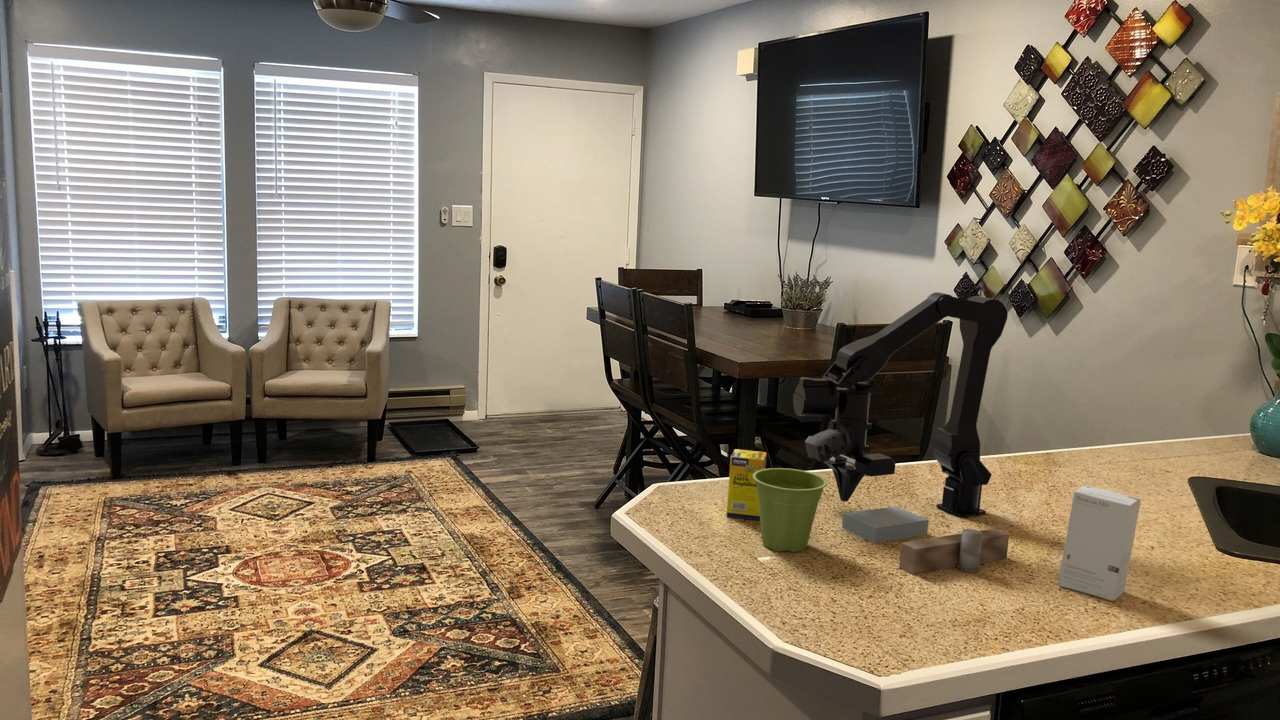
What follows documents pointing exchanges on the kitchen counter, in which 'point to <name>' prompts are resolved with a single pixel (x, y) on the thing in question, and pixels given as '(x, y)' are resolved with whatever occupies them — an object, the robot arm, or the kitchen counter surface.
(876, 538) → the slate plate
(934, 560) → the walnut bar
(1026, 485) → the kitchen counter surface
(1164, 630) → the kitchen counter surface
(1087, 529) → the skincare box
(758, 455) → the supplement box
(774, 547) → the plant pot
